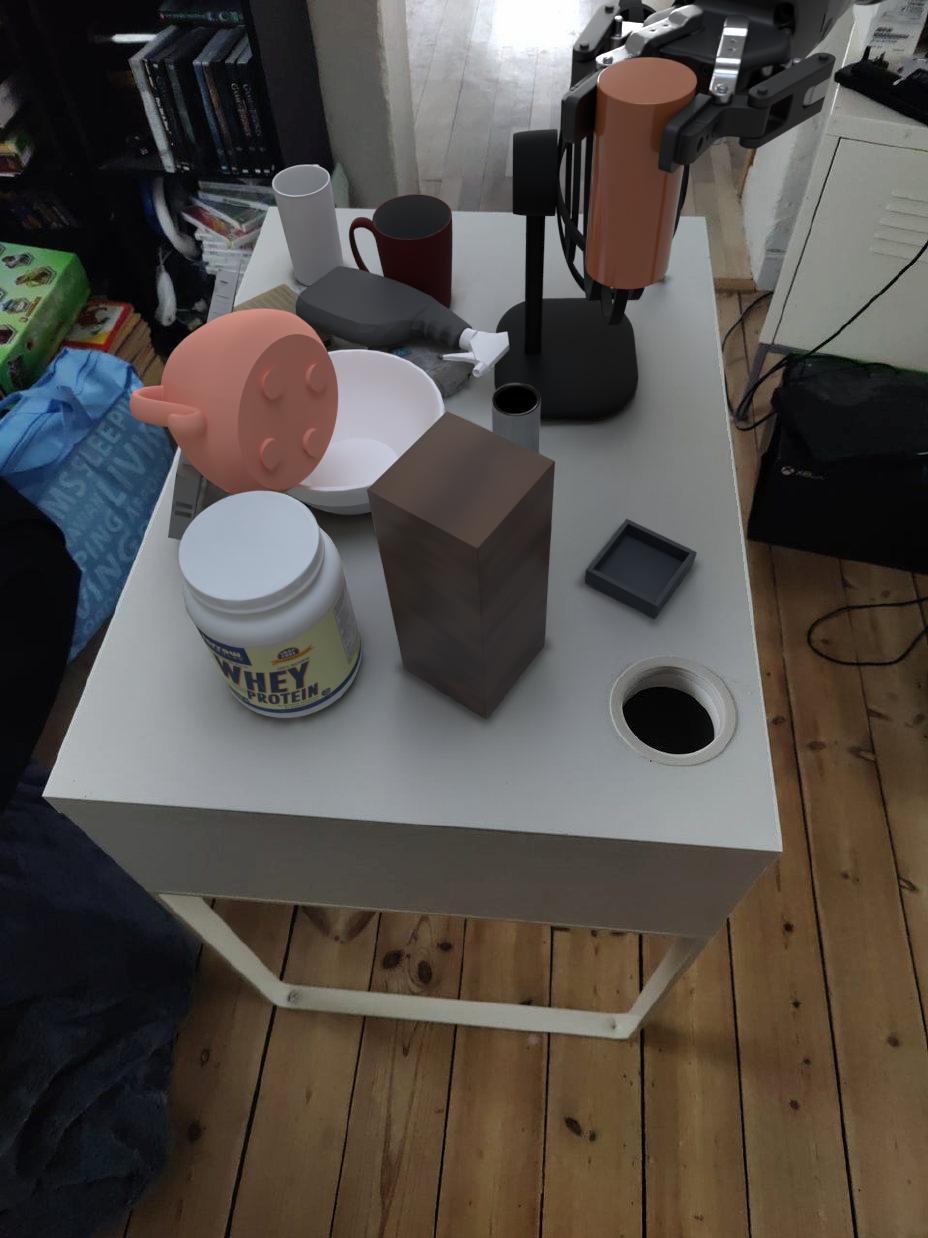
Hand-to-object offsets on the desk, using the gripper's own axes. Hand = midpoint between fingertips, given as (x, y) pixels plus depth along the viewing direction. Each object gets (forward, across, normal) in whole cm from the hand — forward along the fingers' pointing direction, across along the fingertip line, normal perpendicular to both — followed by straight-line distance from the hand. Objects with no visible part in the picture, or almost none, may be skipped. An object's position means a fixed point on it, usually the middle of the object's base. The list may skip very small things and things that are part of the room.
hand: (617, 137), depth 42 cm
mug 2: (-29, -41, +43) cm, 66 cm away
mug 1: (-29, -55, +43) cm, 76 cm away
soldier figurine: (-47, -20, +40) cm, 65 cm away
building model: (+2, -40, +35) cm, 53 cm away
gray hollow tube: (-12, -14, +43) cm, 47 cm away
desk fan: (-30, -18, +43) cm, 55 cm away
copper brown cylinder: (-3, 0, +8) cm, 9 cm away
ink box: (-19, -48, +41) cm, 66 cm away
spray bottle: (-20, -47, +38) cm, 63 cm away
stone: (-19, -37, +41) cm, 58 cm away
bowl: (-3, -28, +43) cm, 51 cm away
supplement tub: (+17, -18, +43) cm, 49 cm away
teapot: (+4, -24, +27) cm, 36 cm away
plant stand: (+8, -5, +43) cm, 44 cm away
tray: (-8, +2, +43) cm, 44 cm away
